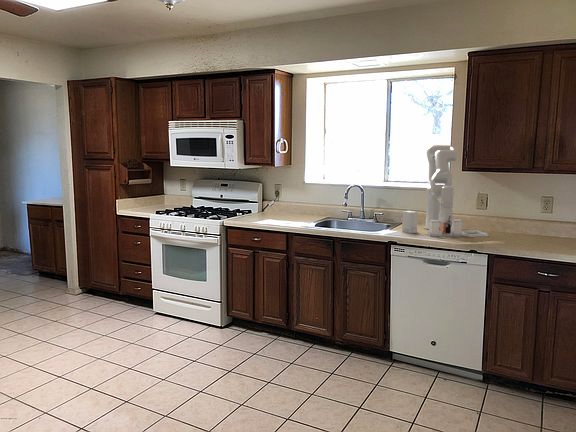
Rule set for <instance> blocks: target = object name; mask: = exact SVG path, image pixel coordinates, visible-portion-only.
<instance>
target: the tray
mask: <svg viewBox="0 0 576 432" xmlns="http://www.w3.org/2000/svg"><path fill="white" fill-rule="evenodd" d="M462 235H464V237H468V238H470V237H471V238H476V237H479V238H481V237H489V233H486V232H483V231H480V230H477V229H476V230H474V229H473V230H462Z"/></svg>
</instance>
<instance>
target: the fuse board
mask: <svg viewBox="0 0 576 432" xmlns="http://www.w3.org/2000/svg"><path fill="white" fill-rule="evenodd" d="M453 233H454V232H453V231H451V232H450V236H442V232H441V231H440V230H439V236H431V232H429V230H428V231H427V233H425V234H424V235H425V236H428V237H430V238H447V237H449V238H452V237H453V238H454V237H455V238H456V237H459V238H460V237H465V235H462V232H461V235H460V236H454V235H453Z"/></svg>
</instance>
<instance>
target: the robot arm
mask: <svg viewBox="0 0 576 432" xmlns="http://www.w3.org/2000/svg"><path fill="white" fill-rule="evenodd" d="M426 157H427V160H428V180H429V182H430V184H429V185H428V186H427V188H426V190H425V191H426V192H425V193H426V215H425V216H426V218H425V225H424V226H423V229H425V230H426V229H427V230H429V220H438V221H439V231H440V223H441V222H443V223H446V233H450V232H451V228H452V223H453V221H452V220H453V206H454V192H455V191H454V190H455V189H454V187H453V173H452V171H451V170H450V166H449V163H455V162H457V159H458V153H457V151H456V149H455V148H454V147H453V146H452V145H446V144H445V145H444V144H436V145H435V144H434V145H429V146H428V147H427V149H426ZM439 199H440V201H439Z"/></svg>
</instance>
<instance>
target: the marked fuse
mask: <svg viewBox="0 0 576 432" xmlns="http://www.w3.org/2000/svg"><path fill="white" fill-rule="evenodd" d="M439 231H441V232H442V236H450V233H446V223H443V222H441V223H440V230H439Z"/></svg>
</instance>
